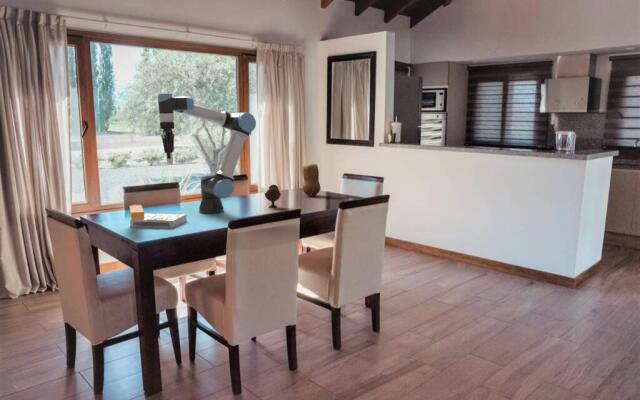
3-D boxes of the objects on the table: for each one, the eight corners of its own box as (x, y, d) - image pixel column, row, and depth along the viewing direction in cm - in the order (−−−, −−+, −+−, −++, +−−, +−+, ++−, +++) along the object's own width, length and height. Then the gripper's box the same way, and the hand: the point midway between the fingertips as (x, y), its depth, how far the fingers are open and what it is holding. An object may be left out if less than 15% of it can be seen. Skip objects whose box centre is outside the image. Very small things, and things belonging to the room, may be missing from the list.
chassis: (146, 220, 277) (145, 208, 276) (186, 221, 274) (186, 209, 272) (129, 227, 259) (129, 214, 258) (172, 228, 256) (172, 215, 254)
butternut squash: (306, 194, 377) (306, 162, 373) (322, 195, 373) (322, 163, 369) (300, 197, 364) (299, 163, 360) (316, 198, 360) (316, 164, 356)
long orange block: (141, 211, 264) (141, 204, 263) (144, 219, 242) (143, 211, 241) (129, 212, 262) (129, 204, 261) (131, 220, 239) (131, 212, 239)
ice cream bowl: (262, 206, 323) (262, 184, 320) (278, 205, 326) (278, 183, 324) (266, 209, 313) (266, 186, 310) (283, 208, 317) (283, 185, 314)
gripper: (165, 121, 273) (168, 163, 277) (155, 122, 260) (158, 165, 264) (178, 121, 272) (181, 163, 276) (168, 121, 260) (172, 165, 264)
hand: (170, 164), depth 270 cm, fingers closed
